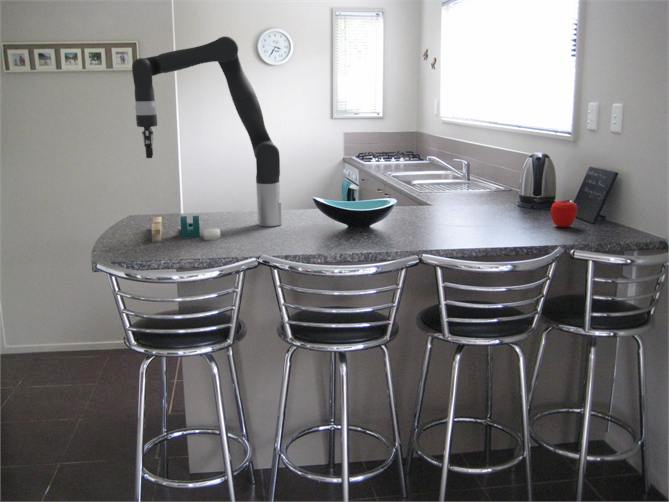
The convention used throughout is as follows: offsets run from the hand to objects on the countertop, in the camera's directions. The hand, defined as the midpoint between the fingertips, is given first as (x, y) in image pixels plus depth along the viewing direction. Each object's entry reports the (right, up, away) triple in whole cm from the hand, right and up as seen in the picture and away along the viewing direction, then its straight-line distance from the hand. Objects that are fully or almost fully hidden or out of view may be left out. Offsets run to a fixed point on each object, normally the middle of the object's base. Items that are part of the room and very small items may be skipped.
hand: (149, 156), depth 254 cm
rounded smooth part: (+25, -31, -5) cm, 40 cm away
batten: (+2, -30, +2) cm, 30 cm away
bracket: (+15, -29, +5) cm, 33 cm away
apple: (+159, -27, +5) cm, 162 cm away
